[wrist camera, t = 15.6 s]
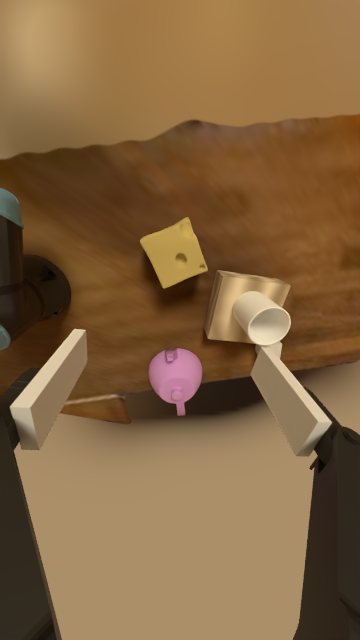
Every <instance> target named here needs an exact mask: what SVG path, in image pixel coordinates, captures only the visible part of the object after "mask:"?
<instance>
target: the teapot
mask: <svg viewBox="0 0 360 640" xmlns="http://www.w3.org/2000/svg"><path fill="white" fill-rule="evenodd" d="M149 379H150V383H151V385H152V387H153V389H154V390H155V392H156V393H157V394H158V395H159V396H160V397H161V398H162V399H163V400H165V401H166V402H169V403H175V404H176V406H177V414H178V416H179V415H185V408H184V402H185V401H187V400H189V399H190V398H191V397H192V396H193V395H194V394H195V392H196V391H197V389H198V387H199V385H200V383H201V379H202V366H201V362H200V360H199V359H198V357H197V356H196V355H195V354H193V353H192V352H190V351H188V350H185V349H181V348H172V349H165V350H164V351H162V352H160V353H159V354H157V355H156V356H155V357H154V358H153V360H152V361H151V363H150V365H149Z"/></svg>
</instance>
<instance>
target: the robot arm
mask: <svg viewBox="0 0 360 640" xmlns="http://www.w3.org/2000/svg"><path fill="white" fill-rule="evenodd" d="M22 229H24V225H23V224H22V218H21V208H20V204H19V201H18V200H17V198H16V197H15V196H14V195H13V194H12V193H10V192H9V191H7V190H4V189H2V188H0V351H1V350H3V349H6V348H7V347H8V346H9V345H10V344H11V343H12V342H13V341H14V340H16V339H17V338H18V337H19V336H20V335H22V334H23V333H24V332H25V331H27V330H28V329H29V328H30V327H31V326H33V325H34V324H35V323H36V322H39V321H43V320H47V319H51V318H53V317H56V316H57V315H59V314H60V313H61V312H62V311H63V310H64V309H65V308H66V307H67V306H68V304H69V301H70V297H71V290H70V286H69V283H68V280H67V279H66V277H65V275H64V274H63V273H62V271H61V270H60V269H59V268H58V267H57V266H55V265H54V264H53V263H51V262H50V261H48V260H46V259H44V258H41V257H38V256H34V255H23V235H22ZM86 363H87V343H86V330H80V329H74V330H73V331H72V332H71V334H70V335H69V336H68V337H67V338H66V340H65V341H64V342H63V343H62V344H61V346H60V347H59V348H58V349H57V350H56V352H55V353H54V354H53V355H52V357H51V358H50V359H49V360H48V361H47V363H46V364H45V365H44V366H43V367H42V368H31V369H29V370H27V371H26V372H24V373H22V374H21V375H20V377H19V378H18V379H17V380H16V381H15V382H14V383H13V384H12V385H11V386H10V388H8V389H7V391H6V392H5V393H4V394H3V395H2V396H1V397H0V640H62V638H61V635H60V631H59V627H58V623H57V619H56V615H55V611H54V607H53V603H52V599H51V595H50V591H49V587H48V583H47V580H46V576H45V572H44V568H43V564H42V560H41V556H40V552H39V548H38V544H37V540H36V536H35V532H34V528H33V524H32V521H31V517H30V513H29V509H28V505H27V501H26V497H25V493H24V489H23V485H22V481H21V477H20V473H19V470H18V466H17V462H16V458H15V454H14V449H15V448H16V446H17V444H18V443H19V442H20V445H21V449H23V450H39V449H40V448H41V446H42V444H43V442H44V441H45V439H46V437H47V435H48V433H49V431H50V430H51V428H52V426H53V424H54V422H55V420H56V419H57V417H58V415H59V413H60V411H61V409H62V408H63V406H64V404H65V402H66V400H67V398H68V397H69V395H70V393H71V391H72V389H73V387H74V386H75V384H76V382H77V380H78V378H79V376H80V374H81V373H82V371H83V369H84V367H85V365H86ZM251 376H252V378H253V380H254V382H255V383H256V385H257V387H258V389H259V390H260V392H261V394H262V396H263V397H264V399H265V401H266V403H267V405H268V406H269V408H270V410H271V412H272V414H273V415H274V417H275V419H276V421H277V423H278V424H279V426H280V428H281V429H282V431H283V433H284V435H285V437H286V439H287V440H288V442H289V444H290V446H291V447H292V449H293V451H294V453H295V455H296V456H310V454H311V453H312V451H313V450H315V451H316V453H317V455H318V456H317V458H316V459H315V461H314V462H313V463H312V465H311V466H310V469H311V470H312V469H313V468H314V467H315V469H314V479H313V489H312V499H311V509H310V519H309V530H308V539H307V549H306V560H305V570H304V581H303V590H302V600H301V610H300V619H299V624H298V628H297V630H296V633H295V635H294V638H293V640H360V435H359V434H357V433H356V432H355V431H353V430H352V429H349V428H347V427H342V426H341V425H340V424H339V422H338V421H337V420H336V419H335V418H334V417H333V416H332V414H331V413H330V412H329V411H328V410H327V409H326V407H325V406H323V404H322V403H321V402H320V401H319V399H318V398H317V397H316V396H315V395H314V394H313V392H311V391H310V390H308V389H307V388H306V387H302V386H301V384H300V383H299V382H298V381H297V380H296V378H295V377H294V376H293V375H292V374H291V372H290V371H289V370H288V369H287V368H286V366H285V365H284V364H283V363H282V362H281V360H280V359H279V358H278V357H277V356H276V354H275V353H274V352H273V351H272V349H271V348H266V347H261V348H260V351H259V354H258V356H257V359H256V362H255V364H254V367H253V369H252V372H251Z"/></svg>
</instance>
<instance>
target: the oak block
mask: <svg viewBox="0 0 360 640" xmlns="http://www.w3.org/2000/svg"><path fill="white" fill-rule="evenodd" d="M289 288H290V285H288V284H287V283H285V282H283V281H281V280H279V279H275V278H268V277H261V276H254V275H247V274H240V273H233V272H226V271H219V270H217V272H216V276H215V280H214V285H213V289H212V293H211V298H210V302H209V306H208V311H207V315H206V320H205V324H204V330H205V333H206V335H207V338H208V339H214V340H224V341H234V342H244V343H254V342H253V341H252V340H251V339H250V338H249V336H248V335H247V334H246V332H245V331H244V330H243V328H242V327H241V325H240V324H239V323H238V321H237V320H236V318H235V316H234V314H233V306H234V303H235V301H236V300H237V298H238V297H239V296H241V295H242V294H244V293H246V292H249V291H257V292H260V293H262V294H264V295H265V296H266V297H268V298H269V299H270V300H272V301H273V302H274V303H276V304H277V305H278V306H280V307H281V308H282V306H283V304H284V301H285V298H286V296H287V293H288V291H289ZM254 344H256V343H254Z"/></svg>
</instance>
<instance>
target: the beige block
mask: <svg viewBox="0 0 360 640" xmlns="http://www.w3.org/2000/svg"><path fill="white" fill-rule="evenodd" d="M260 348H261V347H260V346H259V345H258V344H256V347H255V352H256V353H257V354H259V351H260ZM268 348H271V349H272V351H273V352H274V353H275V354H276V356H277V357H278V358H279V359H280V355H281V348H282V343H281V342H280V341H278V342H276V343H274V344H271V345H269V347H268Z"/></svg>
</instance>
